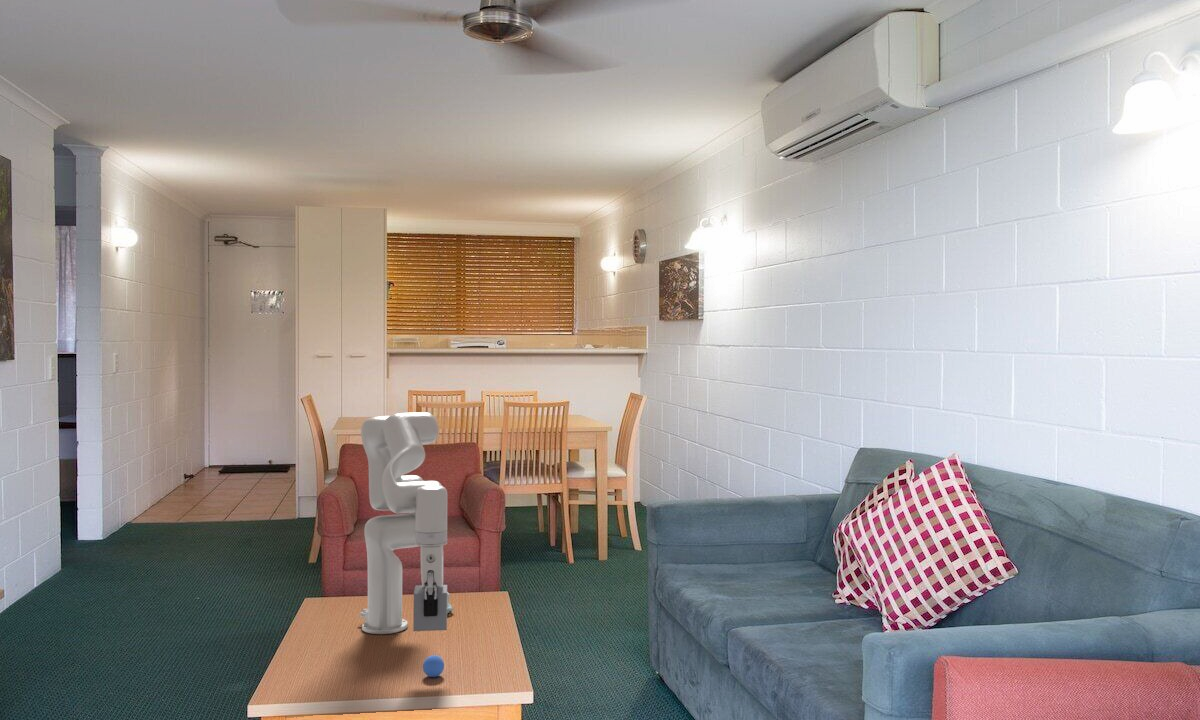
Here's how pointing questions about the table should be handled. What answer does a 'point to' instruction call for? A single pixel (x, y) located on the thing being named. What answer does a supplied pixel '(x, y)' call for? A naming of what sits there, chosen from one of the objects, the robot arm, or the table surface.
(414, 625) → the gray foam cube
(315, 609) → the table surface
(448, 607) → the pacifier
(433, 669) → the ball
